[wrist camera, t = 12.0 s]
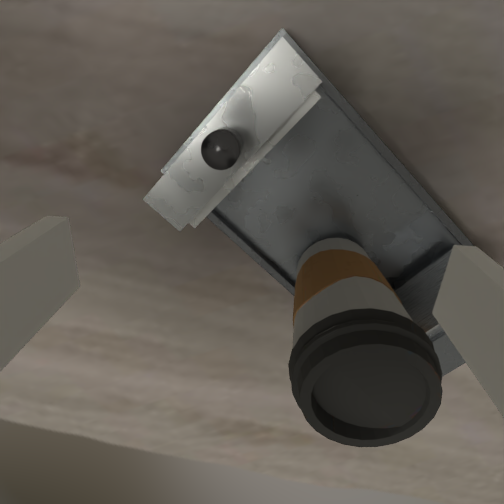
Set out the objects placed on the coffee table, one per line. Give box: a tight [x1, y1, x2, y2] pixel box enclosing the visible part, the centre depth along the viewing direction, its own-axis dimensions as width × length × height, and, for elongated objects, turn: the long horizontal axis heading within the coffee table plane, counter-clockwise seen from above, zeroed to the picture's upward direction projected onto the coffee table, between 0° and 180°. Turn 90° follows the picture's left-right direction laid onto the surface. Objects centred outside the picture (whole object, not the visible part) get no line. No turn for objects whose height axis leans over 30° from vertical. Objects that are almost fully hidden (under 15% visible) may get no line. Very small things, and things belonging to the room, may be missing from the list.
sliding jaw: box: [143, 37, 322, 231], centre depth 24 cm, size 4×12×10 cm, turn 136°
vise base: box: [161, 28, 474, 376], centre depth 28 cm, size 26×14×10 cm, turn 46°
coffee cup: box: [288, 238, 442, 447], centre depth 26 cm, size 8×8×15 cm
